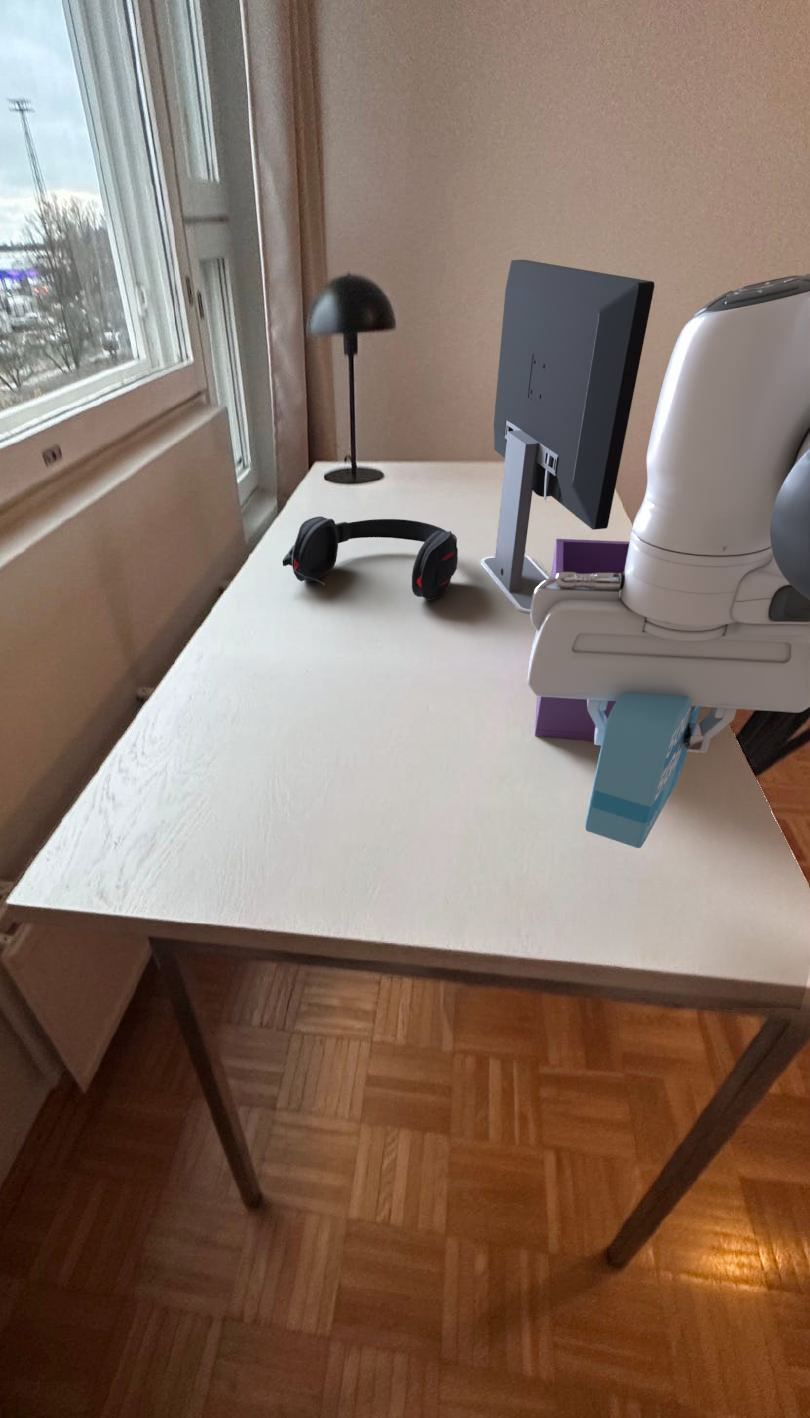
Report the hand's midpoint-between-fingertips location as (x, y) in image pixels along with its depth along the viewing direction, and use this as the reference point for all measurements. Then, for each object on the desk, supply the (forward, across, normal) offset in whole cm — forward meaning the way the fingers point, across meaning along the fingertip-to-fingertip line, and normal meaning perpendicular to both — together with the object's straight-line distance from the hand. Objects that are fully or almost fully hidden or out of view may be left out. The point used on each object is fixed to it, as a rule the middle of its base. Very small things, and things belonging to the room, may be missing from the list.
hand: (648, 745), depth 59 cm
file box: (+14, -1, +32) cm, 35 cm away
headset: (+13, -36, +62) cm, 73 cm away
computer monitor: (+14, -11, +66) cm, 68 cm away
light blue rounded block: (+7, 0, 0) cm, 7 cm away
